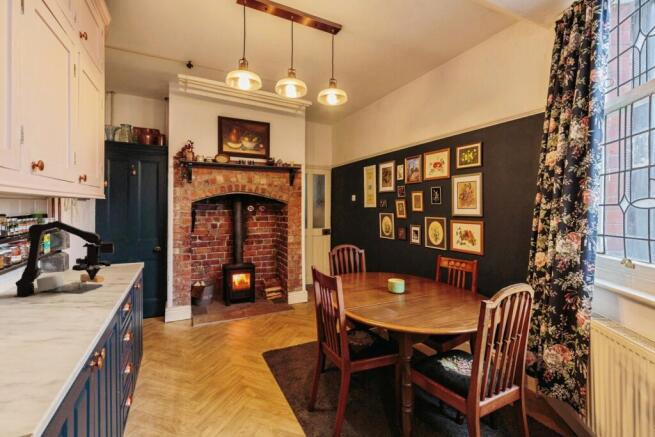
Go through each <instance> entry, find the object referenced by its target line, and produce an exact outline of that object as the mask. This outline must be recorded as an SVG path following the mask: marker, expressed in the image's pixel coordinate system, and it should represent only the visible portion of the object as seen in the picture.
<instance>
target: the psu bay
mask: <svg viewBox="0 0 655 437" xmlns="http://www.w3.org/2000/svg"><path fill="white" fill-rule="evenodd" d="M102 287H103V284H101V283H99V284H98V283H87V281H74V282H71V283H67V284H64V285H62V286H60V287H57V288H55V289H51V290H46V293H48V294H50V293H51V294H52V293H53V294H85V293H88V292H90V291H92V290H96V289H99V288H102Z"/></svg>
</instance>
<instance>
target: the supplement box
mask: <svg viewBox="0 0 655 437" xmlns="http://www.w3.org/2000/svg"><path fill="white" fill-rule="evenodd" d="M63 285H65V284H64V277H63V273H57V274H51V275H50V274H49V275H46V276H42V277H40V278H39V277H38V278H37V279H36V286H37V292H43V291H44V292H45V291H47V290H51V289H55V288H57V287H60V286H63Z"/></svg>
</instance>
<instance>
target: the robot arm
mask: <svg viewBox="0 0 655 437" xmlns="http://www.w3.org/2000/svg"><path fill="white" fill-rule="evenodd" d="M52 229H58V230H60V231H63V232H66V233H68V234H71V235H74V236H77V237H79V238H81V239H82V240H84V241H85V243H84V244H83V245H82V247H83V248H86V255H85V256H84V258H81V257H80V258H79V257H78V258H76V259H75V264H74V265H73V266H72V268H71V269H72V271H77V272H82V271H83V272H84V271H86V274H88V275H89V277H90V279H91V280H93V279H94V277H95V276H97V274H98V273H99V271H100V270H101V269H102V266H105V267H106V268H107V267H111V262H110V261H107V260H102V261H100V260H99V258H101V255H100V254H103V255H109V254H110V255H111V254H112V255H113V254H115V245H114V244H115V243H114V242H104V241H103V240H101V236H100V235H99V234H98V232H92V231H87V230H83V229H80V228H77V227H75V226H73V225H70V224H67V223H65V222H63V221H60V220H53V221H51V222H47V223H34V224H31V225H30V226H29V227H28V235H29V239H30V244H29V249H28V255H27V256H28V257H27V263H26V266H25V268H24V269H23V271H22V274H21V278H19V279H18V280H17V281H16V282H15V284H14V285H15V286H16V294H15V295H13V296H14V298H15V297H17V298H18V297H19V298H27V297H30V296H34V295H37V292H35V283H34V282H35V280H37V279H39V277H40V276H41V275H42V273H41V271H42V269H43V268H42V267H39V265H38V264H39V256H40V250H41V245H42V239H43V238H44V236H45V234H46V231H49V230H52ZM99 253H100V254H99Z"/></svg>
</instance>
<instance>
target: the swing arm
mask: <svg viewBox="0 0 655 437" xmlns="http://www.w3.org/2000/svg"><path fill="white" fill-rule="evenodd" d="M79 276H80V279H79V280H80V281H79V282H81V281H86V282H89V283H94V284H98V283H99V284H100V283H102V282H105V276H102V275H96V276H95V277H94V279H93V280H91V279H90V277H89V275H88V273H86V274H85V273H83V274H80V275H79Z"/></svg>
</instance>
